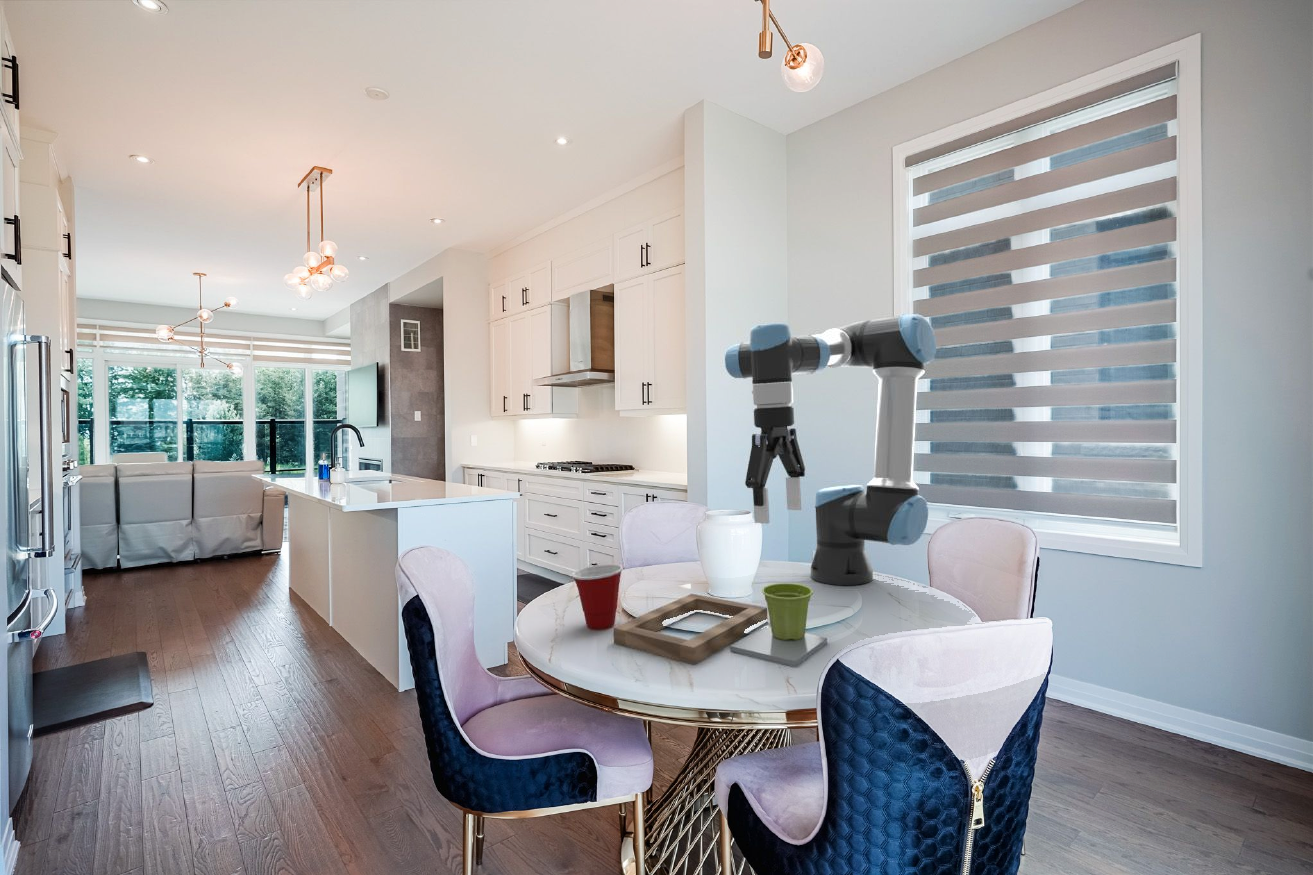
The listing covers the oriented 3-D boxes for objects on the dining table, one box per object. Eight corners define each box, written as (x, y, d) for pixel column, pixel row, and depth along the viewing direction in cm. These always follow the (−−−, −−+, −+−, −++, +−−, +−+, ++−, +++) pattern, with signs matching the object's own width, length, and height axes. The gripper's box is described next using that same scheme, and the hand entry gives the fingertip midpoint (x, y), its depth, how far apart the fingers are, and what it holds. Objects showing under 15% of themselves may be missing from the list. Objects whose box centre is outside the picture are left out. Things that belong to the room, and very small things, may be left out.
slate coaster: (765, 630, 128) (765, 625, 128) (827, 643, 120) (827, 637, 120) (730, 651, 118) (730, 645, 118) (795, 666, 110) (795, 661, 110)
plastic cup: (583, 615, 141) (580, 561, 141) (631, 617, 139) (628, 562, 138) (566, 633, 131) (563, 575, 130) (617, 635, 128) (614, 575, 128)
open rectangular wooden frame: (692, 606, 145) (691, 593, 144) (767, 621, 133) (767, 607, 133) (613, 643, 124) (613, 627, 124) (694, 664, 112) (693, 647, 112)
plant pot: (823, 633, 122) (822, 588, 121) (796, 648, 115) (794, 600, 115) (782, 623, 129) (780, 580, 128) (753, 636, 122) (752, 591, 121)
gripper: (784, 403, 135) (789, 503, 137) (722, 410, 116) (728, 527, 117) (818, 401, 131) (823, 505, 132) (759, 409, 111) (765, 530, 112)
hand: (778, 516), depth 125 cm, fingers open, 13 cm apart
